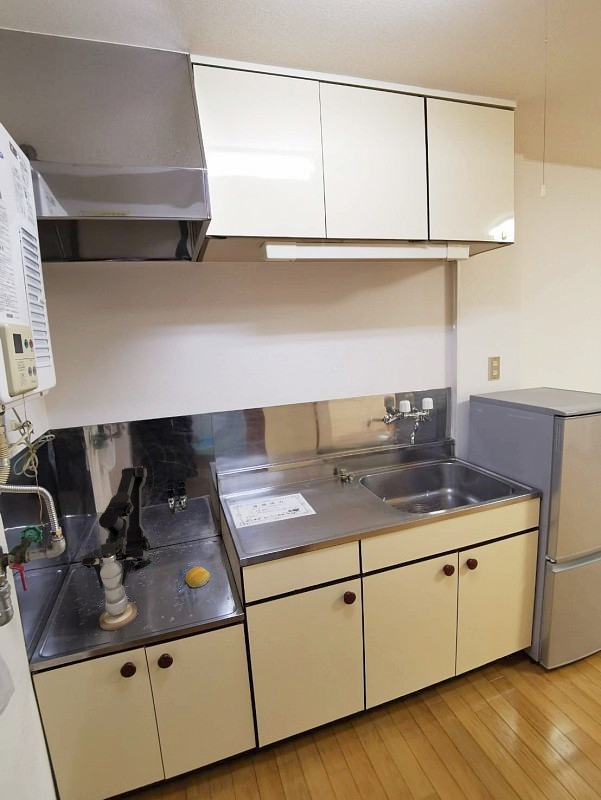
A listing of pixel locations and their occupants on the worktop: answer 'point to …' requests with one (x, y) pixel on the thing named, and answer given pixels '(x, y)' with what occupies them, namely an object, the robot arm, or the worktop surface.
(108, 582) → the plastic bottle
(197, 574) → the bread roll
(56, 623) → the worktop surface
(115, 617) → the tan round plate
